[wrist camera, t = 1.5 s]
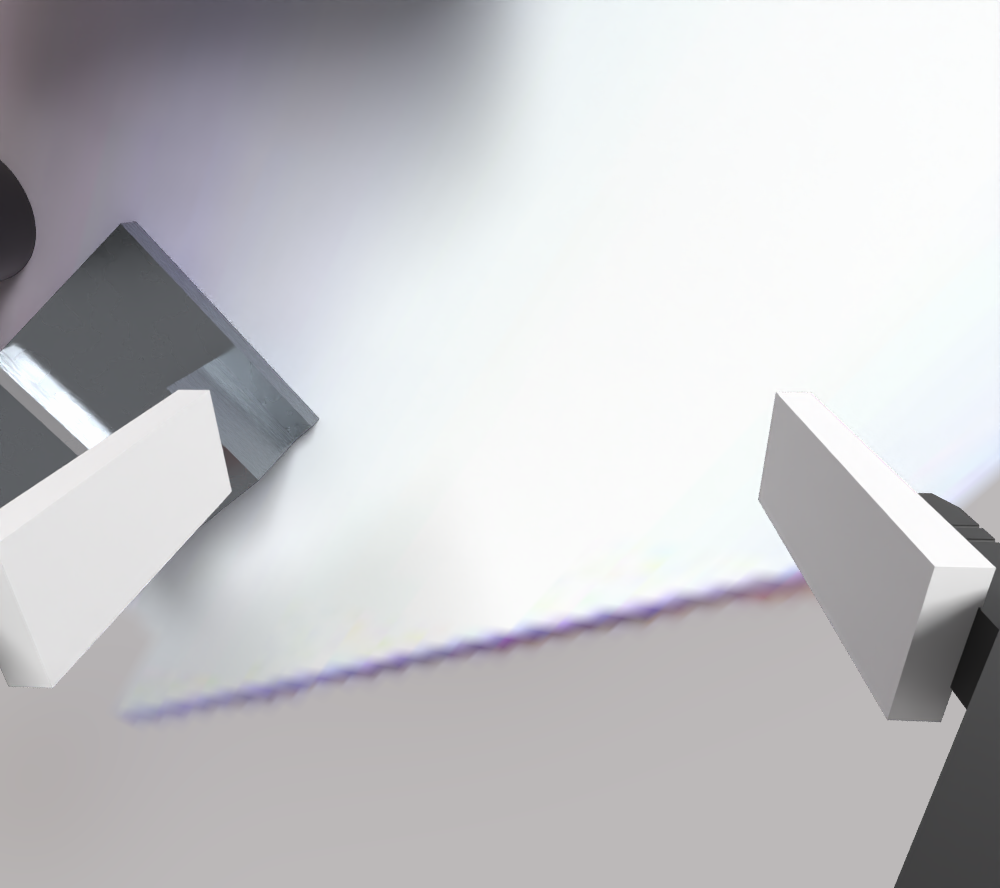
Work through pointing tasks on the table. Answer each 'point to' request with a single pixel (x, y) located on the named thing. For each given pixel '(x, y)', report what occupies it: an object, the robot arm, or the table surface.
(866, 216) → the table surface
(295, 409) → the press
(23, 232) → the water bottle
